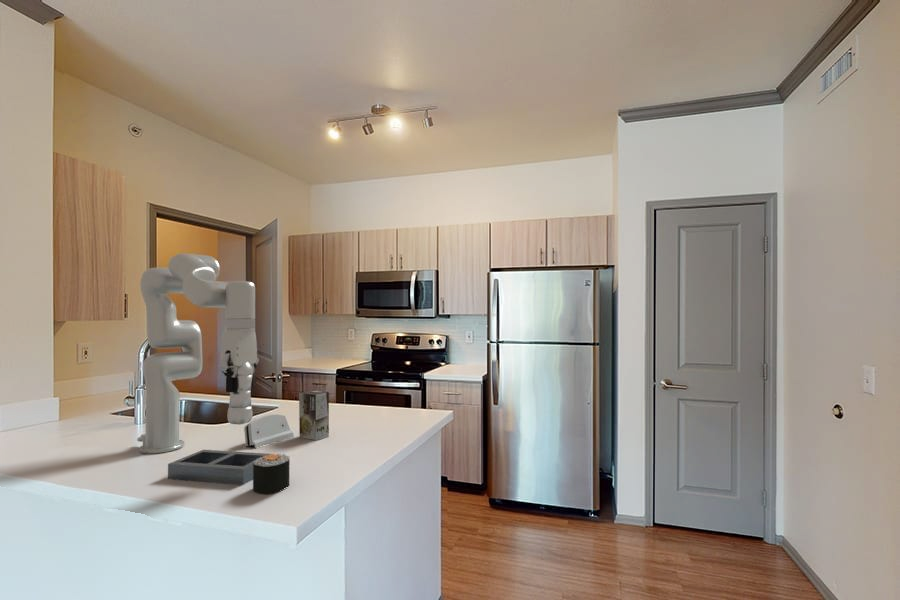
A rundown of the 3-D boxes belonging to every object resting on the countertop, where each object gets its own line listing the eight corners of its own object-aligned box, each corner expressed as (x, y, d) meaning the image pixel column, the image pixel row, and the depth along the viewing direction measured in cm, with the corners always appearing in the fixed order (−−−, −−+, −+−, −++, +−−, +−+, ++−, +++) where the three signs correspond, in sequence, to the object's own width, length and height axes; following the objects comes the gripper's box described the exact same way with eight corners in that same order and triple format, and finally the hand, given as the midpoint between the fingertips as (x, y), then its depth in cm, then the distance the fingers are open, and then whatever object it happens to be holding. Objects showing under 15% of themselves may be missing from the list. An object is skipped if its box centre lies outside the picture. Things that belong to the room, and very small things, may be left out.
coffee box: (329, 436, 163) (329, 391, 163) (315, 440, 157) (315, 394, 158) (312, 433, 168) (312, 389, 168) (298, 437, 162) (298, 392, 163)
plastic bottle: (247, 420, 130) (248, 350, 130) (256, 424, 125) (257, 351, 125) (223, 423, 125) (224, 351, 126) (232, 428, 120) (232, 353, 121)
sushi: (246, 491, 113) (246, 459, 113) (272, 480, 120) (272, 450, 120) (270, 496, 109) (271, 463, 110) (295, 484, 117) (295, 453, 117)
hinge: (255, 449, 148) (248, 419, 150) (246, 452, 150) (239, 422, 152) (294, 436, 163) (288, 409, 165) (286, 439, 165) (279, 412, 167)
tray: (167, 478, 122) (168, 463, 122) (203, 463, 134) (203, 449, 134) (243, 484, 117) (243, 469, 117) (272, 467, 130) (272, 453, 130)
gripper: (248, 324, 135) (248, 384, 134) (206, 326, 118) (205, 395, 117) (270, 324, 133) (270, 385, 133) (231, 326, 117) (231, 395, 116)
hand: (240, 389), depth 125 cm, fingers closed on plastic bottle, 6 cm apart
